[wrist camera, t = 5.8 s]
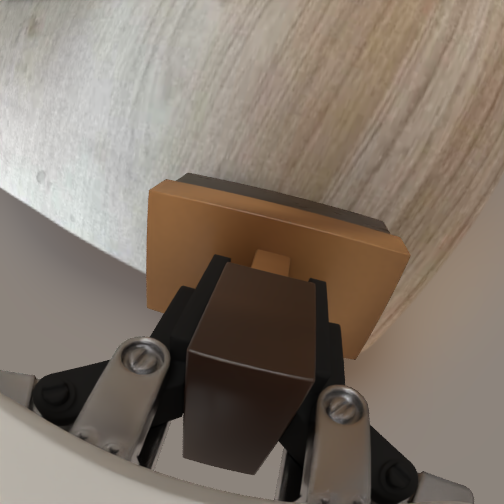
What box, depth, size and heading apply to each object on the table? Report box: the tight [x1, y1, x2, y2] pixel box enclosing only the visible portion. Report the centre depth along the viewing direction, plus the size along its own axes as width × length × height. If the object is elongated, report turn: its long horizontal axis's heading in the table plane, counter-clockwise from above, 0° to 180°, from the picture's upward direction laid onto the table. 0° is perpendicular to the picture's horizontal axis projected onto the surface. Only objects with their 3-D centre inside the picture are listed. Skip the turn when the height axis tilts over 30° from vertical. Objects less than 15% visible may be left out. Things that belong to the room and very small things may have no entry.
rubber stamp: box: [146, 173, 410, 475], centre depth 10 cm, size 9×5×10 cm, turn 79°
